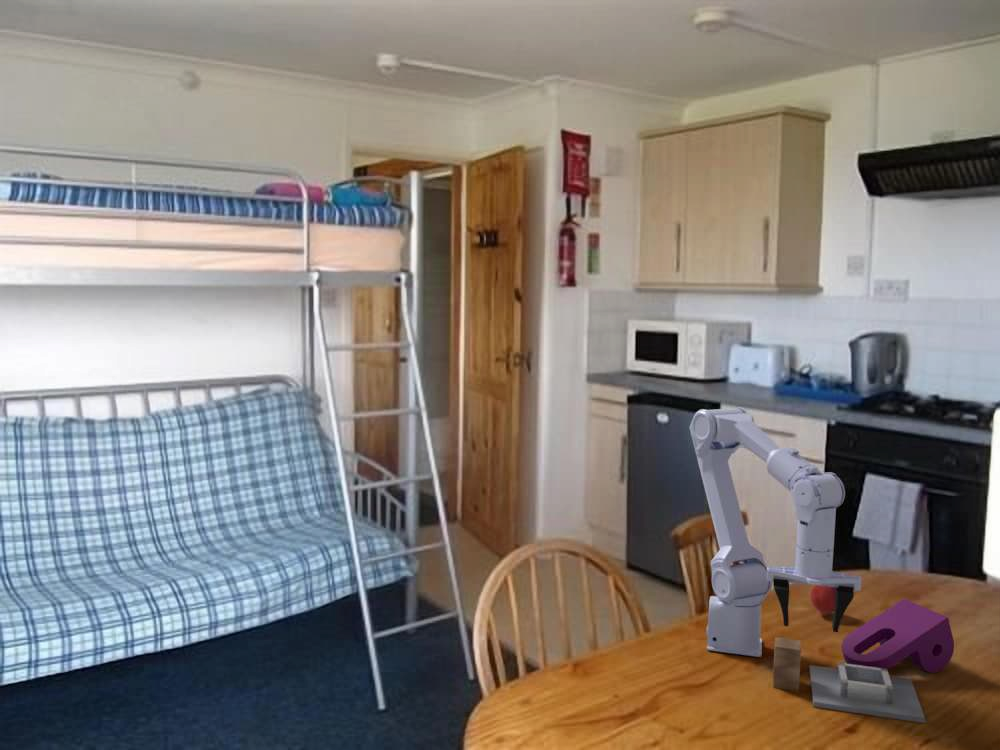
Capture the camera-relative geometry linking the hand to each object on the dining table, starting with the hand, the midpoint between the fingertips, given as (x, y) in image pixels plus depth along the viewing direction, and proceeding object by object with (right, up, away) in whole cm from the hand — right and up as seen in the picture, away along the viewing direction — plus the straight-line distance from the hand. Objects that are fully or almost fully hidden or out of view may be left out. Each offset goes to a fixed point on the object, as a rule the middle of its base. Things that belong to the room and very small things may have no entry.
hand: (810, 626), depth 143 cm
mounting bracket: (+17, -9, +8) cm, 21 cm away
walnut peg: (-4, -10, +1) cm, 11 cm away
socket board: (+8, -10, -2) cm, 13 cm away
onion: (+14, -7, +32) cm, 36 cm away
